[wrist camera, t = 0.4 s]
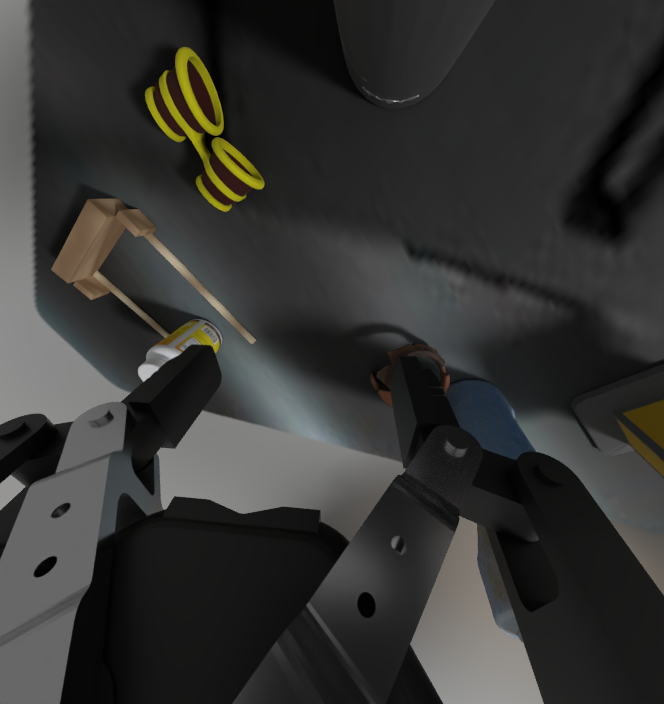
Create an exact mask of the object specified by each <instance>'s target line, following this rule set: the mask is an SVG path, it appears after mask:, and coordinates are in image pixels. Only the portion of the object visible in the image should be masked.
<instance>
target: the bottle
mask: <svg viewBox="0 0 664 704" xmlns="http://www.w3.org/2000/svg"><path fill="white" fill-rule="evenodd" d="M446 397H447V399H448V401H449V403H450V405H451V407H452V410H453V412H454V414H455V416H456V419H457V421H458V423H459V425H460V427H461V428H462V429H464V430H465V431H467V432H469V433H470V434H471V435H472V436H474V437H475V438H476V440H477V441H478V442H479V444H480V445H481V447H482V448H483V449H486V450H488V451H491V452H493V453H496V454H499V455H502V456H506V457H509V458H512V459H515V460H517V458H518V457H519V456H520V455H521V454H522V453H524V452H536V451H535V449H534V448H533V446H532V445H531V443H530V442H529V440H528V439H527V437H526V436H525V434H524V432H523V431H522V429H521V428H520V426H519V425H518V423H517V422H516V420H515V414H514V410H513V408H512V407H511V405H510V404H509V402H508V401H507V400H506V398H505V397H504V395H503V394H502V393H501V391H500V390H499V389H498V388H497V387H495V386H494V385H493V384H490V383H488V382H486V381H480V380H464V381H460V382H456V383H453V384H451V385H449V388H448V390H447V393H446ZM477 531H478V557H477V560H478V566H479V570H480V574H481V577H482V580H483V583H484V586H485V589H486V593H487V596H488V599H489V603H490V606H491V609H492V613H493V617H494V619H495V622H496V624H497V625H498V627H499V628H500V629H501V630H502V631H503V632H504V633H505V634H507V635H509V636H511V637H514V638H517V639H520V640H521V641H522V642H523V639H522V636H521V633H520V630H519V627H518V624H517V621H516V618H515V615H514V612H513V609H512V606H511V603H510V600H509V597H508V594H507V591H506V588H505V585H504V583H503V580H502V577H501V574H500V571H499V568H498V565H497V562H496V559H495V556H494V553H493V550H492V547H491V544H490V541H489V538H488V535H487V532H486V529H485V527H484V526H482V525H480V524H477ZM523 643H524V642H523Z"/></svg>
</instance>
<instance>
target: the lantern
mask: <svg viewBox="0 0 664 704" xmlns="http://www.w3.org/2000/svg"><path fill="white" fill-rule="evenodd" d="M571 407H572V409H573V410H574V412H575V413H576V415H577V416H578V418H579V420H580V421H581V423H582V424H583V426H584V427H585V429H586V431H587V432H588V434H589V435H590V437H591V439H592V440H593V442H594V443H595V445H596V446H597V448H598V449H599V450H600V451H601V453H602V454H605V455H607V456H613V455H619V454H623V453H627V452H630V451H634V450H635V451H636V452H637V453H638V454H639V455H640V456H641V457H642V458H643V459H644V460H645V461H646V462H647V463H648V464H649V465H650V466H651V467H652V468H654V469H655V470H656V471H657V472H658V473H659V474H660V475H661V476H662V477H663V478H664V364H662V365H659V366H656V367H654V368H651V369H648V370H646V371H643V372H640V373H638V374H635V375H632V376H629V377H627V378H624V379H621V380H619V381H616V382H613V383H611V384H608V385H605V386H603V387H600V388H597V389H595V390H592V391H589V392H587V393H584V394H581V395H579V396H577V397H575V398H574V399H572V401H571Z"/></svg>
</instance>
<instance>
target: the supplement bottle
mask: <svg viewBox="0 0 664 704" xmlns="http://www.w3.org/2000/svg"><path fill="white" fill-rule="evenodd" d="M192 344H199V345H211V346H212V347H213V349H214V352H215V353H216V352H217V351H218V349H219V348H220V347H221V344H222V337H221V334H220V332H219V331H218V329H217V328H216V327H215V326H214V325H213V324H211V323H210V322H208V321H206V320H202V319H193V320H190V321H189V322H187V323H186V324H184V325H183V326H182V327H180V328H179V329H177V330H176V331H175V332H173V333H172V334H170V335H169V336H168V337H166V338H165V339H163V340H162V341H161V342H159V343H158V344H156V345H155V346H153V347H152V348H151V349H150V350H149V351H148V353H147V356H146V361H145V362H144V363H143V364H142V365H141V366H140V367H139V368H138V374H139V376H140V378H141V379H142V381H143V382H144V381H145V380H146V379H147V378H150V377H151V375H152V374H153V373H154V372H155V371H158V369H159V368H160V367H161V366H162V365H163V364H165V363H166V362H167V361H169V360H170V359H172V358H174V357H176V356H178V355H180V354H181V353H182V352H183V351H184V350H185V349H186V348H187V347H189V346H190V345H192Z"/></svg>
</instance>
